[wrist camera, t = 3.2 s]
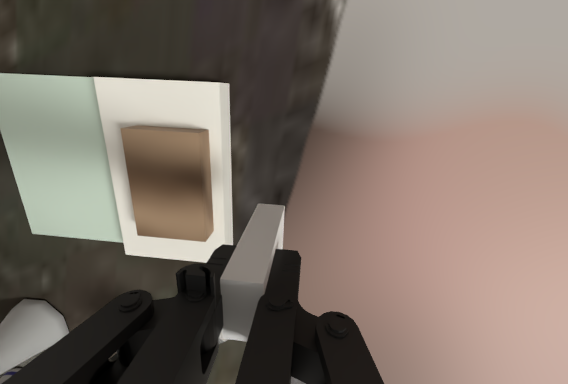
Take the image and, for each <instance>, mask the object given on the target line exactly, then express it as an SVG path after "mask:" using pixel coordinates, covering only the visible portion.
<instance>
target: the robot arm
mask: <svg viewBox="0 0 568 384" xmlns="http://www.w3.org/2000/svg"><path fill="white" fill-rule="evenodd" d="M284 208H285V206H282V205H270V204H258V205H257V207H256V209H255V211H254V213H253V215H252V217H251V219H250V221H249V223H248V225H247V227H246V229H245V231H244V233H243V235H242V237H241V239H240V241H239V242H238V244H237V246H235V245H225V244H222V245H221V246H220V247H218V248H217V249H215V250H214V252H213V253H212V255H211V256H210V258H209V260H208V261H207V264H192V265H188V266H185V267H183V268H181V269H180V270H179V271H178V272H177V273H176V279H177V287H178V294H177V295H176V297H173V298H168V299H160V300H152V296H151V294H150V293H148V292H147V291H143V290H134V291H129V292H126V293H123V294H121V295H120V296H118V297H116V298H115V299H113V300H112V301H111V302H109V303H108V304H107V305H105V306H104V307H103V308H101V309H100V310H99V311H98V312H96V313H95V314H94V315H92V316H91V317H90V318H88V319H87V320H86V321H84V322H83V323H82V324H80V325H79V326H78V327H76V328H75V329H74V330H72V331H71V332H70V333H68V334H67V335H66V336H64V337H63V338H62V339H60V340H59V341H58V342H56V343H55V344H54V345H52V346H51V347H50V348H48V349H47V350H46V351H44V352H43V353H42V354H40V355H39V356H38V357H36V358H35V359H34V360H32V361H31V362H30V363H28V364H27V365H26V366H24V367H23V368H22V369H20V370H19V371H18V372H16V373H15V374H14V375H12V376H11V377H10V378H8V379H7V380H6V381H4V382H3V383H2V384H206V383H207V380H208V377H209V375H210V372H211V369H212V367H213V364H214V361H215V358H216V356H217V353H218V348H219V340H218V339H219V336H220V333H221V331H222V328H223V338H224V339H232V340H240V341H247V343H246V347H245V351H244V354H243V358H242V361H241V365H240V369H239V372H238V376H237V379H236V383H235V384H290V382H291V376H292V377H294V378H296V379H298V380H300V381H302V382H304V383H306V384H384V382H383V380H382V378H381V376H380V374H379V372H378V369H377V367H376V365H375V363H374V361H373V359H372V356H371V354H370V352H369V350H368V348H367V346H366V344H365V341H364V339H363V337H362V335H361V333H360V331H359V328H358V326H357V325H356V323H355V322H354V320H353V319H351V318H350V317H349V316H347V315H345V314H343V313H340V312H332V311H331V312H327V313H324V314H322V315H321V316H319V317H317V316H315V315H312V314H310V313H308V312H307V311H305V310H304V309H303V308H302V307H301V305H300V304H299V302H298V291H299V279H300V265H301V257H300V255H299V253H298V251H293V250H283V249H282V248H283V230H284ZM116 351H117V353H116V354H115V355H114V356H113V357H111V356H112V355H113V354H114V353H115V352H116ZM110 357H111V358H110ZM108 358H110V359H108Z"/></svg>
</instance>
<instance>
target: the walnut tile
mask: <svg viewBox="0 0 568 384" xmlns="http://www.w3.org/2000/svg"><path fill="white" fill-rule="evenodd" d="M120 130H121V136H122V142H123V148H124V155H125V161H126V167H127V173H128V179H129V186H130V192H131V198H132V204H133V211H134V217H135V223H136V229H137V236H147V237H157V238H168V239H179V240H189V241H200V242H206V241H207V240H208V238H209V237H210V235H211V234H212V233H213V231H214V223H213V203H212V183H211V164H210V144H209V130H207V129H191V128H174V127H157V126H140V125H136V126H130V127H125V128H120Z"/></svg>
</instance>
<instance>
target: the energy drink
mask: <svg viewBox="0 0 568 384" xmlns="http://www.w3.org/2000/svg"><path fill="white" fill-rule="evenodd" d="M20 369H22V368H15V369H11V370H9V371H7V372H6V373H5V374H4V375H3V376H2V377H1V378H0V384H2V383H3V382H4V381H6V380H7V379H8V378H10V377H11V376H12V375H14V374H15V373H16V372H18V371H19V370H20Z"/></svg>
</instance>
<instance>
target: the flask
mask: <svg viewBox="0 0 568 384" xmlns="http://www.w3.org/2000/svg"><path fill="white" fill-rule="evenodd" d="M68 333H69V331H68V328H67V325H66V322H65V320H64V317H63V316H62V315H61V314H60V313H59V312H58V311H57V310H55V309H54V308H53V307H52V306H51V305H50V304H49V303H47V302H46V301H44V300H31V299H23V300H22V301H21V302H20V303H18V304H17V305H16V306H15V307H14V308H12V309H11V311H10V312H9V313H8V315H7V316H6V317H5V319H4V320H3V321H2V323H1V324H0V375H1V374H3V373H4V372H6V371H8V370H10V369H11V368H13V367H15V366H17V365H18V364H20V363H22V362H23V361H25V360H27V359H29V358H31V357H32V356H34V355H36V354H38V353H40V352H42V351H43V350H45V349H47V348H49V347H51V346H52V345H54V344H55V343H56V342H58V341H59V340H60V339H62V338H63V337H64V336H66V335H67V334H68Z"/></svg>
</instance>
